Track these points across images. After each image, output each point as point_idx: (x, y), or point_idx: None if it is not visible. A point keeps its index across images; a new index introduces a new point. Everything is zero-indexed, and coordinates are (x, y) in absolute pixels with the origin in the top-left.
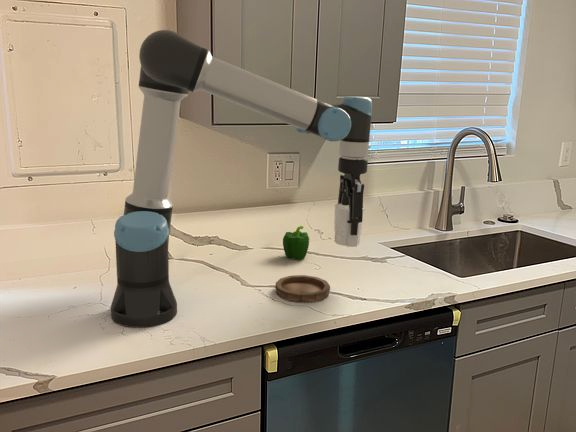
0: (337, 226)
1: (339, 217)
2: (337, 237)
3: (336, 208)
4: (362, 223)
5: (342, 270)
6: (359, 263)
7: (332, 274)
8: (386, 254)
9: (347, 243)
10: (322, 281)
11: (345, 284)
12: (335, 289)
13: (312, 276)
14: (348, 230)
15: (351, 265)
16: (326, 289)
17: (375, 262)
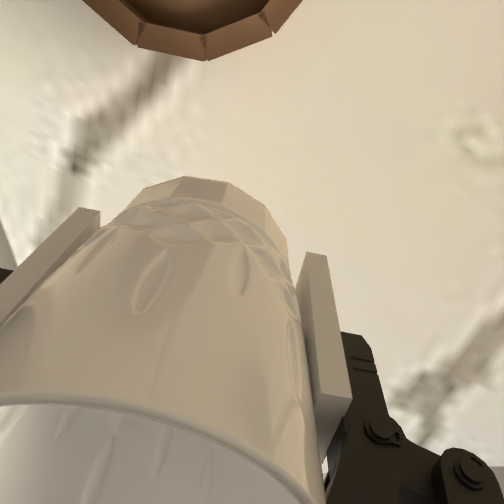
0: (122, 232)
1: (49, 301)
2: (162, 195)
3: (60, 376)
4: (90, 437)
5: (391, 234)
6: (429, 327)
7: (367, 172)
8: (459, 438)
9: (69, 218)
10: (205, 36)
11: (238, 169)
12: (195, 99)
13: (289, 12)
14: (10, 276)
15: (425, 292)
16: (93, 3)
17: (408, 376)
